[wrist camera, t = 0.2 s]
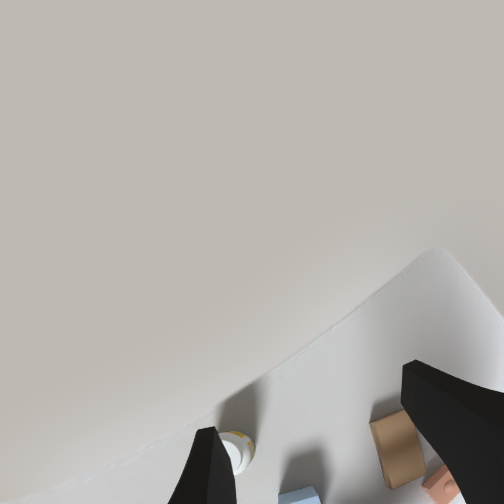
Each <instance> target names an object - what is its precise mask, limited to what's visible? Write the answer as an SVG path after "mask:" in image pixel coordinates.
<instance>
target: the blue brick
mask: <svg viewBox="0 0 504 504" xmlns="http://www.w3.org/2000/svg"><path fill="white" fill-rule="evenodd" d="M278 504H321V503H320V499H319V496H318V494H317V492H316V490H315V489H314V487H313V485H312V486H309V487H305V488H302V489H298V490H295V491H291V492H287V493H283V494H279V495H278Z"/></svg>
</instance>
